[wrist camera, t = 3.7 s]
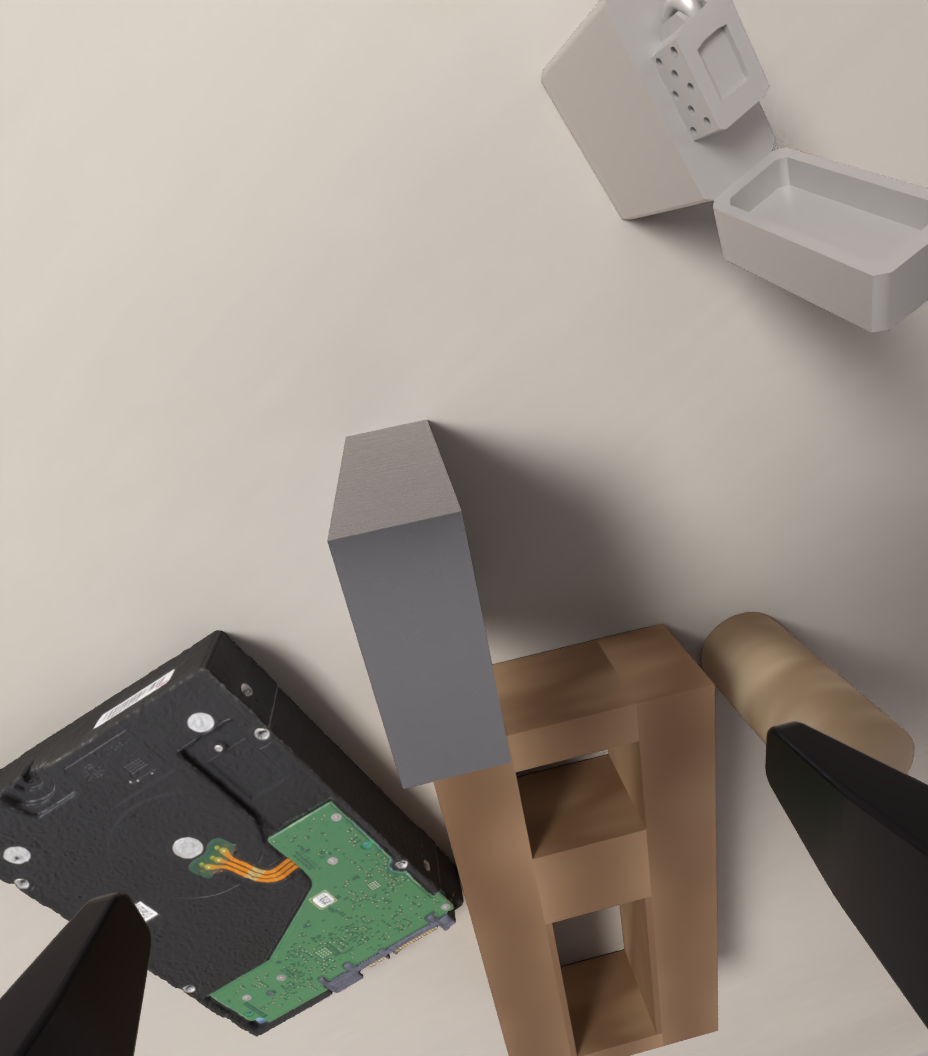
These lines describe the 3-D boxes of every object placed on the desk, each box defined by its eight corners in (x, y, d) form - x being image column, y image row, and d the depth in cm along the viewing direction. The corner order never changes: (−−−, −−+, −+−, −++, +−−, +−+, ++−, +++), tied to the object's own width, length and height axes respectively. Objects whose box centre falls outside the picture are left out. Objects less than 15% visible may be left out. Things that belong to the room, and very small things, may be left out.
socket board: (663, 623, 21) (714, 684, 18) (679, 947, 29) (718, 1030, 26) (418, 682, 21) (426, 755, 18) (501, 996, 28) (517, 1087, 25)
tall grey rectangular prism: (426, 419, 17) (461, 511, 10) (463, 594, 20) (511, 761, 13) (345, 436, 17) (327, 541, 10) (392, 611, 20) (403, 789, 13)
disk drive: (-17, 772, 20) (268, 972, 26) (-73, 842, 18) (256, 1047, 24) (222, 613, 19) (464, 857, 25) (199, 663, 17) (474, 922, 23)
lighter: (537, 74, 14) (710, -136, 7) (594, 22, 14) (832, -251, 7) (677, 314, 17) (906, 339, 10) (728, 273, 17) (999, 269, 10)
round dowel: (782, 603, 22) (921, 712, 16) (779, 673, 23) (906, 795, 18) (699, 623, 22) (811, 740, 16) (701, 692, 23) (805, 822, 17)
